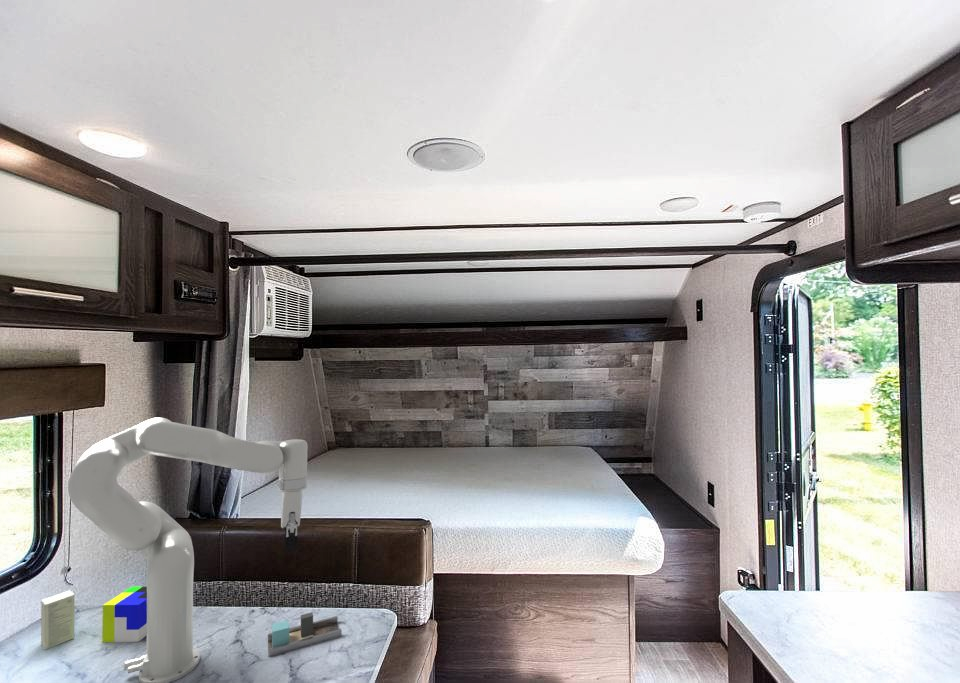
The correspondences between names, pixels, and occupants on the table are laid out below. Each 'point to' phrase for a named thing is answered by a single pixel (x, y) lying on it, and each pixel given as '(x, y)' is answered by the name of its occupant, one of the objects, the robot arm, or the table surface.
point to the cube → (280, 633)
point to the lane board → (311, 640)
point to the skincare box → (57, 619)
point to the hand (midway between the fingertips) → (291, 544)
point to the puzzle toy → (126, 616)
